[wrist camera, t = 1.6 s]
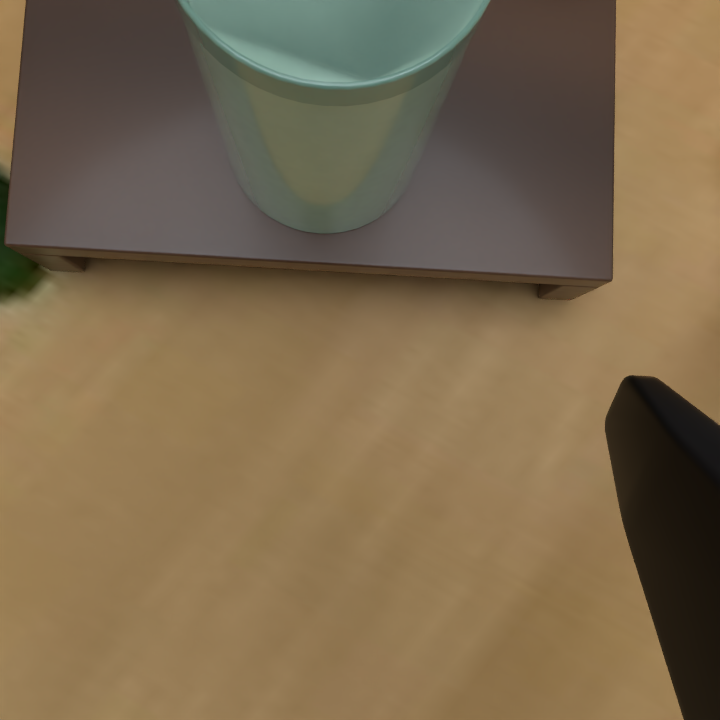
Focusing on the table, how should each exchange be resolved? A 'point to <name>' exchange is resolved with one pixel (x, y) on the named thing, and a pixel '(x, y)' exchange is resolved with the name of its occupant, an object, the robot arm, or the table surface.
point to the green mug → (327, 97)
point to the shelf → (282, 243)
